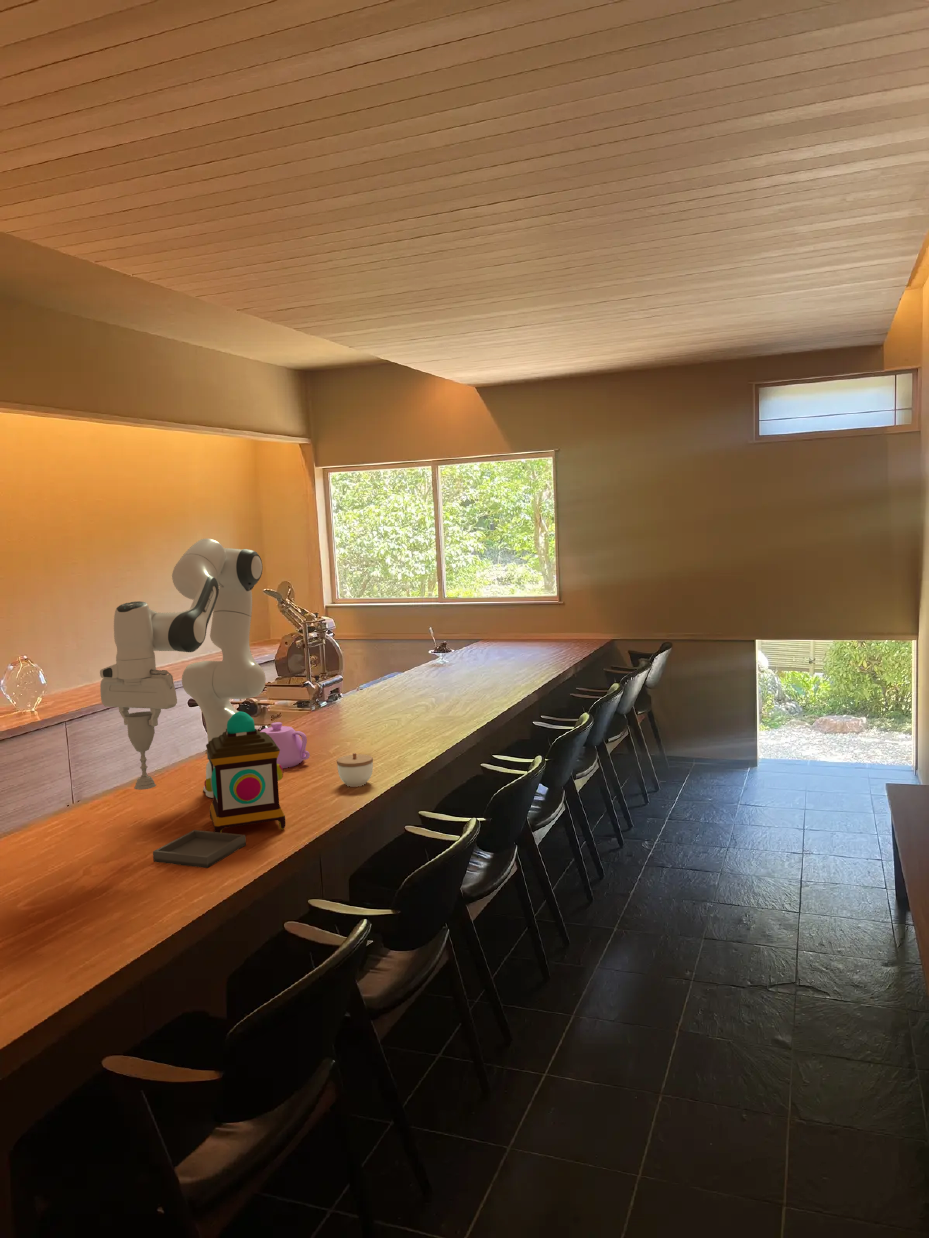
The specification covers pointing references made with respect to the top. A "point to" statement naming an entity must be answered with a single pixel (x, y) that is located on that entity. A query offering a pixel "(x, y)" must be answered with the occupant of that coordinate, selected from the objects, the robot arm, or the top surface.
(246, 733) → the decorative lantern
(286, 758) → the teapot
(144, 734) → the chalice
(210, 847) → the tray
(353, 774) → the lidded jar
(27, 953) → the top surface
